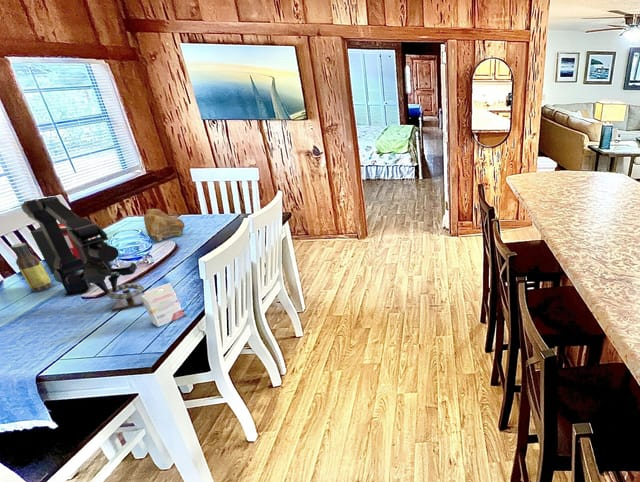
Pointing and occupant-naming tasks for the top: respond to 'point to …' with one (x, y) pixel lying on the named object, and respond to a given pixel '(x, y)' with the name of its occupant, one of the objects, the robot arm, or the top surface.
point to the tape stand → (128, 301)
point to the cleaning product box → (47, 250)
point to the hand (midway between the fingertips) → (111, 292)
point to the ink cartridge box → (162, 305)
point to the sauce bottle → (31, 268)
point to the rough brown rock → (162, 225)
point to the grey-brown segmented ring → (127, 295)
